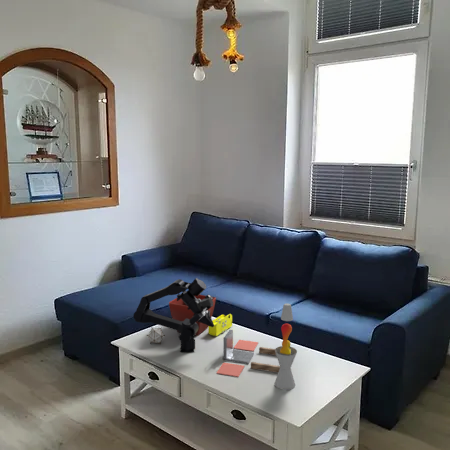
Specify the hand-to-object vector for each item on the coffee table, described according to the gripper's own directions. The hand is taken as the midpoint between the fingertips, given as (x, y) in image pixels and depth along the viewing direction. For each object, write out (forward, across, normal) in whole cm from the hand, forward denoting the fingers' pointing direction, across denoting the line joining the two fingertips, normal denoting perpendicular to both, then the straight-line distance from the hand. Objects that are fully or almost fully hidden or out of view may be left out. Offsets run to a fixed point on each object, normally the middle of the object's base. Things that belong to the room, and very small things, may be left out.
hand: (213, 326), depth 220 cm
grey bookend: (+19, 0, +1) cm, 19 cm away
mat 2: (+18, +13, +1) cm, 23 cm away
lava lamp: (+36, -18, -17) cm, 44 cm away
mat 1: (+18, -13, +1) cm, 23 cm away
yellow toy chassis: (+6, +26, +14) cm, 30 cm away
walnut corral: (+29, 0, -10) cm, 31 cm away
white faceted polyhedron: (-12, +2, +32) cm, 34 cm away
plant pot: (-4, +23, +24) cm, 34 cm away
